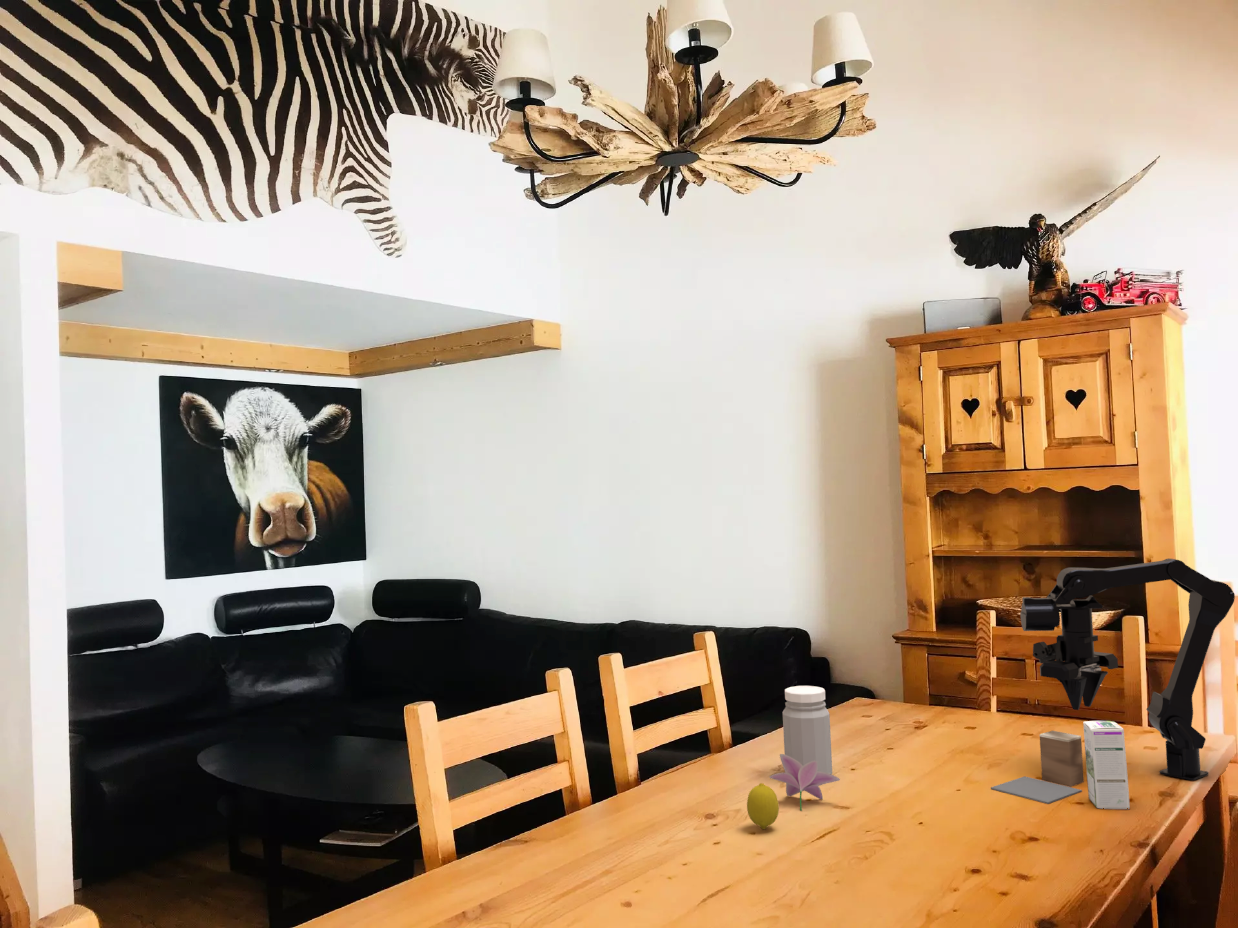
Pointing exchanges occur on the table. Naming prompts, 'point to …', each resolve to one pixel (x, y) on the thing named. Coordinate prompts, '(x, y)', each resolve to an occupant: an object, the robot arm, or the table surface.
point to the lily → (802, 777)
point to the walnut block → (1061, 758)
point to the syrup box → (1106, 765)
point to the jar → (807, 727)
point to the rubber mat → (1036, 789)
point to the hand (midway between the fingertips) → (1081, 707)
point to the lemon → (762, 805)
